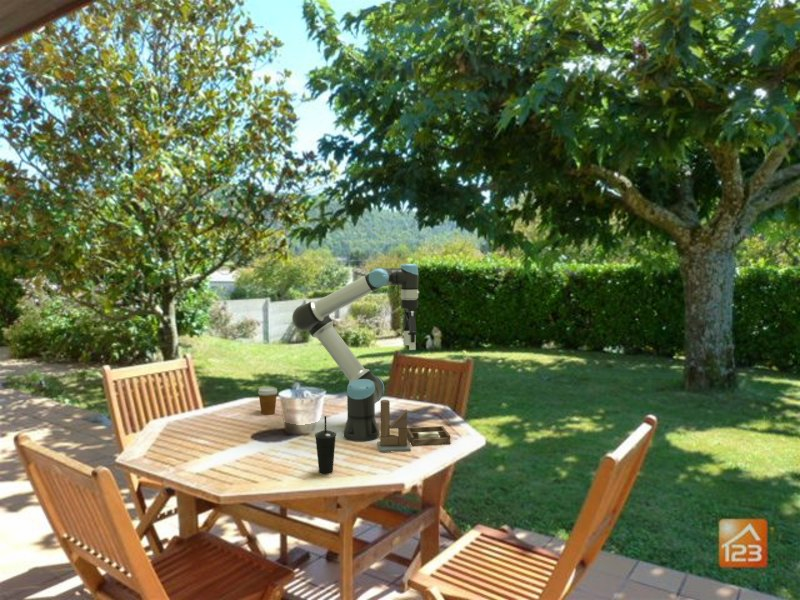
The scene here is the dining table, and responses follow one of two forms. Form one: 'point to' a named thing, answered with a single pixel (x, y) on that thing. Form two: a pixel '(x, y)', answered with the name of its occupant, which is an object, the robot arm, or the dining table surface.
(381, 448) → the slate tile
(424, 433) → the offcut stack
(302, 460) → the dining table surface
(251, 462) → the dining table surface
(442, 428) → the walnut rack
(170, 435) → the dining table surface
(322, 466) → the drinking cup
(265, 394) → the disposable coffee cup
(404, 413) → the wooden block assembly
